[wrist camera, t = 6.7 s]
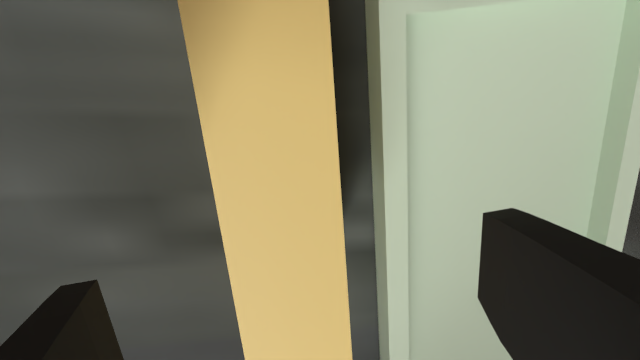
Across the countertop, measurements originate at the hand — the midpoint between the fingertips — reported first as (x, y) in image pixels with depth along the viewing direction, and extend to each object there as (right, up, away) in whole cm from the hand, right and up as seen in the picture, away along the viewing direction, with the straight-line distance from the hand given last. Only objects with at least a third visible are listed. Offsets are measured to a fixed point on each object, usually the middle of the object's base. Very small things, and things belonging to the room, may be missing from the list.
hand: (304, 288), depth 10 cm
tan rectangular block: (-2, +4, +7) cm, 9 cm away
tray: (+7, 0, +11) cm, 13 cm away
